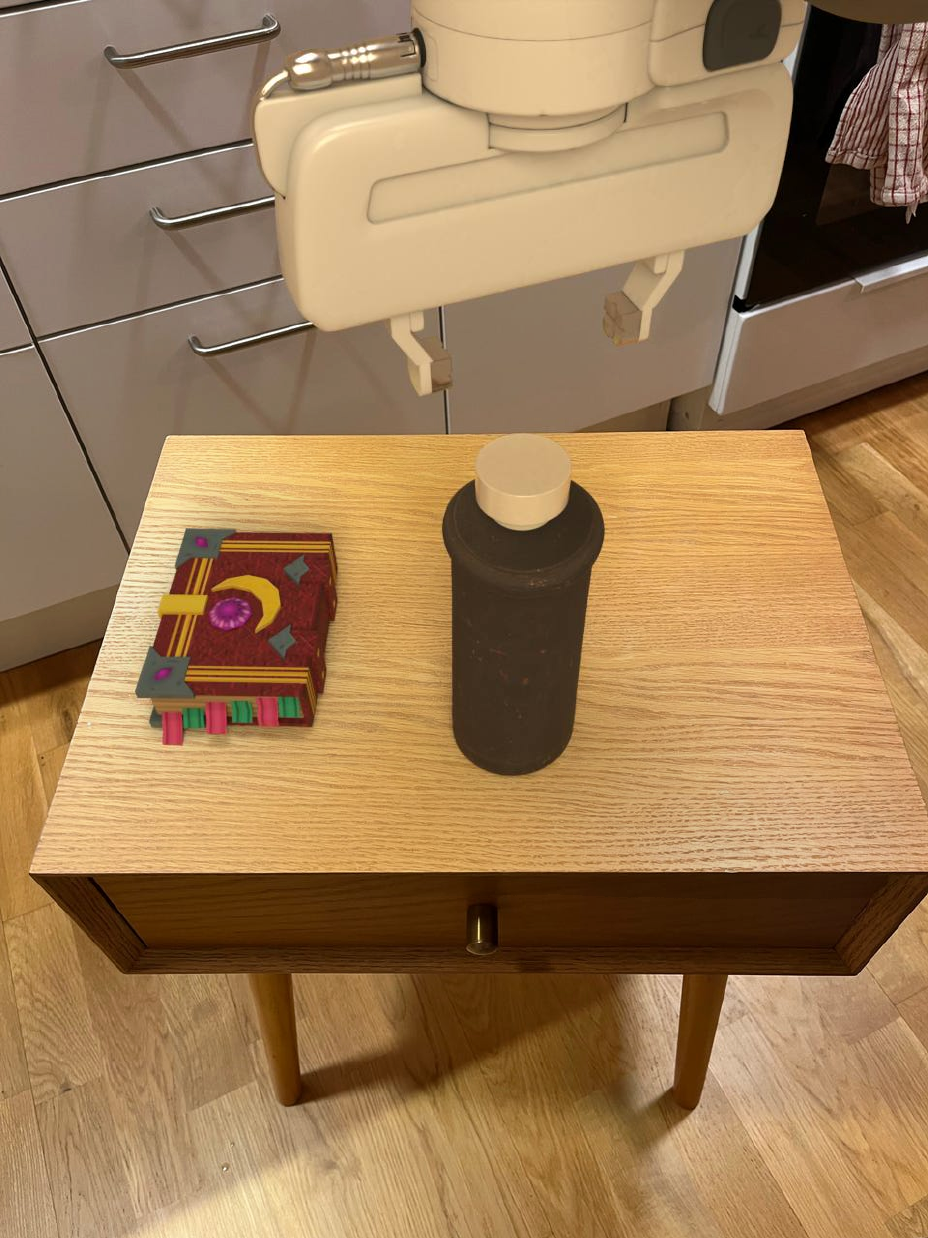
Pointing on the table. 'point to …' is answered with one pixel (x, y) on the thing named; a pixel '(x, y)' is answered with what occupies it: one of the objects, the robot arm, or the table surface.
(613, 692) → the table surface
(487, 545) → the container
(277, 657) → the decorative book
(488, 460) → the beige cylinder disc
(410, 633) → the table surface
